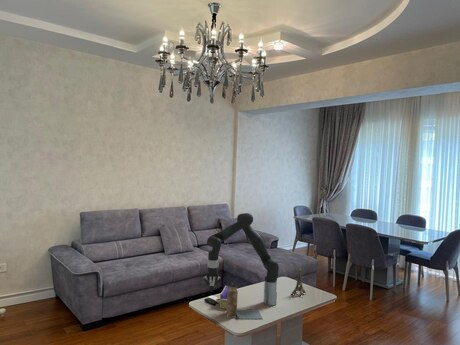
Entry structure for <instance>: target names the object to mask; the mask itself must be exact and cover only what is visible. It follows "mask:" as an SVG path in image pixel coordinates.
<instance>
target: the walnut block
mask: <svg viewBox="0 0 460 345" xmlns="http://www.w3.org/2000/svg"><path fill="white" fill-rule="evenodd" d="M237 288H238V287H236V286H228V292H227V308H226V316H227V318H237V316H236V315H237V310H238V296H239V295H238V289H237Z"/></svg>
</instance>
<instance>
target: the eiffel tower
mask: <svg viewBox="0 0 460 345" xmlns="http://www.w3.org/2000/svg"><path fill="white" fill-rule="evenodd" d="M302 271H303V269H302V268H299V269H298V276H297V280H296V285H295V287H294V289H293V290H292V293H291V294H295V293H296V291H298V292H299V296H300V295H303V296H304V294H303V293H307V292H306V291H305V289H304V287H303V281H302Z"/></svg>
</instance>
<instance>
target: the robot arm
mask: <svg viewBox="0 0 460 345" xmlns="http://www.w3.org/2000/svg"><path fill="white" fill-rule="evenodd" d="M253 222H254V216H253V215H252V214H251V213H249V212H248V213H247V212H245V213H244V212H243V213H239V214H238V215H237V216H236V222H234V223H233V224H230V225H228V226H226V227H225V228H223V229H222V230H220V231H219V232H217V233H214V234H211V235H210V236H209V237H208V238H207V239H206V243H207V245H208V247H210V248H211V247H212V249H211V250H209V251H208V254H207V256H208V257H207V266H206V268H207V269H206V275H205V276H203V277H202V278H203V281H204V282H205V284H206V285H207V286H209V291H210V292H214V291H215V290H214V289H215V286H217V285H218V284H219V283H220V282H221V280H222V278H221V277H220V276H219V256H220V255H219V254H220V251H221V248H222V242H224V241H226V240H228V239H229V238H231V237H232V236H233V235H234V234H236V233H237V232H240V230H242V232H244V233H245V236H246V237H247V239H248V240H249V242H250V244H251V246H252V247H253V249H254V251H255V253H256V254H257V255H258V257H259V259H260V260H261V263H262V264H263V265H262V266H263V267H264V269H265V270H266V275H265V276H264V283H263V284H264V285H263V286H264V288H263V301H262V302H263V304H264V305H266V306H276V305H277V297H278V291H277V284H278V283H277V281H278V279H279V268H280V267H279V263H278V262H277V261H276V260H274V259H273V258H272V257H271V254H269V251H268V248H267V245H266V242H265V241H264V239H263V238H262V236H261V235H260V234H259V232H257V231H256V230H255V229H254V228H253V227H252V226H251V225H252V224H253Z"/></svg>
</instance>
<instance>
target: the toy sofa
mask: <svg viewBox="0 0 460 345" xmlns="http://www.w3.org/2000/svg"><path fill="white" fill-rule="evenodd" d="M228 287H229V286H228V285H225V286H224V288H223V290H222V291H221V293H219V308H221V309H227V292H228Z"/></svg>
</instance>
